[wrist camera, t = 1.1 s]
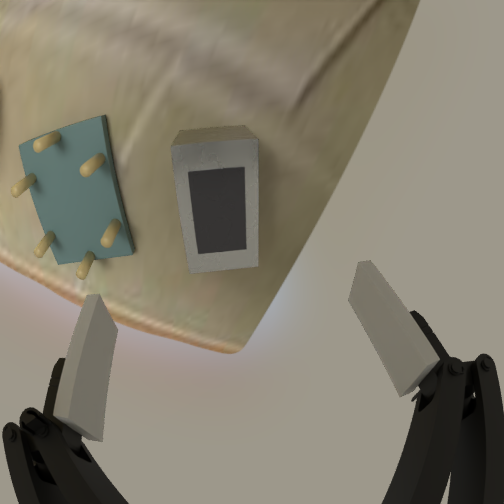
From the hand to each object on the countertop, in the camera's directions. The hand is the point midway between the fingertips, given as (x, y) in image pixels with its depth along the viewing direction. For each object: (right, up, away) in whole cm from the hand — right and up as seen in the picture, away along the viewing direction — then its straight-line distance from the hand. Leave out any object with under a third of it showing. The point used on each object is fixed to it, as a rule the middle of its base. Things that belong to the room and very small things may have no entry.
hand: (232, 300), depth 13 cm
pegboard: (-17, +8, +10) cm, 22 cm away
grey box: (-3, +9, +13) cm, 16 cm away
